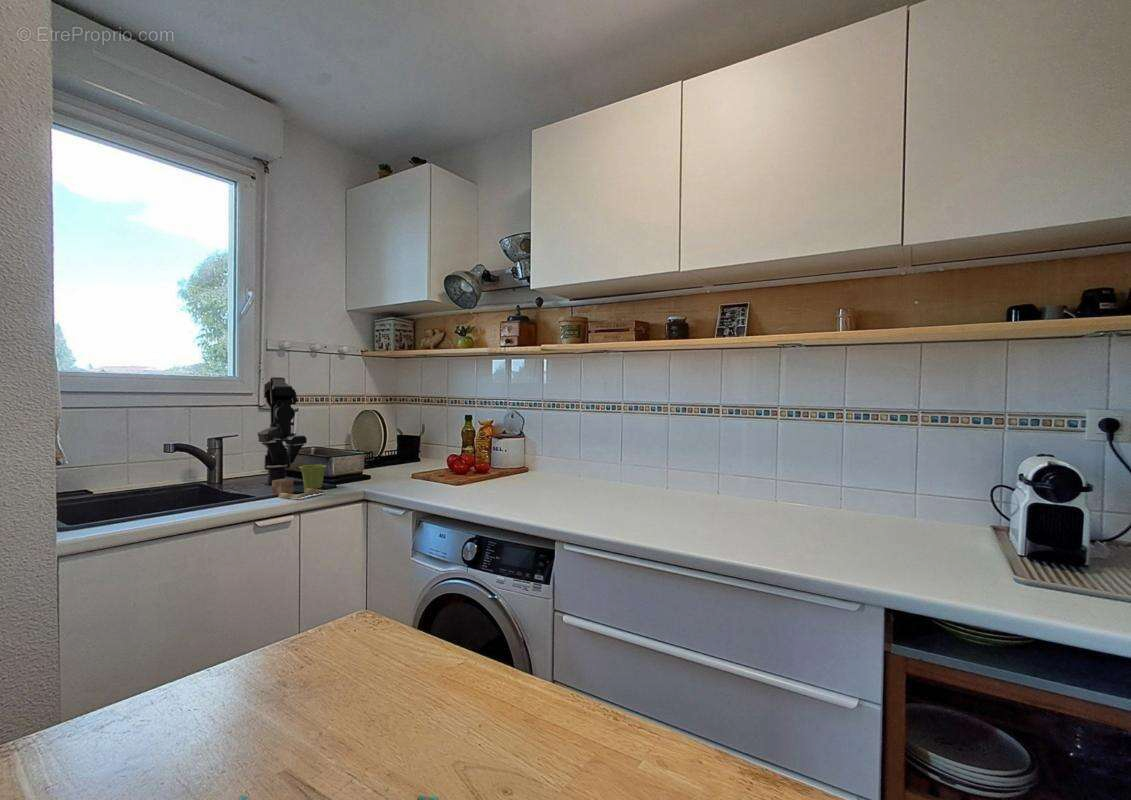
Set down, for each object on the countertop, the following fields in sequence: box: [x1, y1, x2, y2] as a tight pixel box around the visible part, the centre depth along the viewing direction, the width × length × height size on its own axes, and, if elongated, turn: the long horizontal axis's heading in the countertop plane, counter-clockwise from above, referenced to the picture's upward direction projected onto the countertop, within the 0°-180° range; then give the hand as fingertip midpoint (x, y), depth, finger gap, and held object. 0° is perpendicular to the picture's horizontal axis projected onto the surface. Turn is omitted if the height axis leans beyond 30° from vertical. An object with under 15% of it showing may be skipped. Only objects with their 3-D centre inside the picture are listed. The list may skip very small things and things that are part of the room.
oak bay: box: [278, 487, 326, 499], centre depth 184 cm, size 10×11×2 cm
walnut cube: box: [271, 478, 295, 495], centre depth 189 cm, size 5×5×5 cm
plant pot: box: [299, 464, 327, 490], centre depth 198 cm, size 9×9×9 cm
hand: (282, 462), depth 188 cm, fingers open, 9 cm apart
